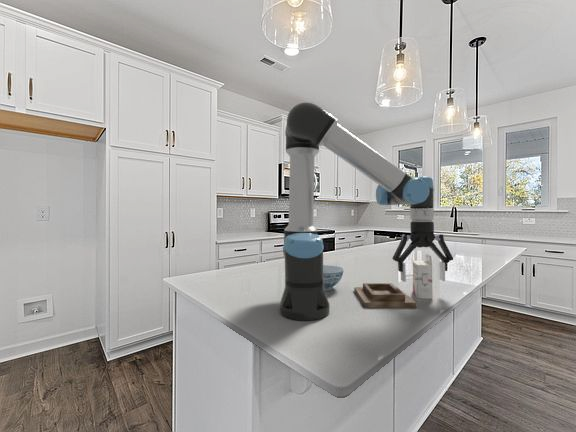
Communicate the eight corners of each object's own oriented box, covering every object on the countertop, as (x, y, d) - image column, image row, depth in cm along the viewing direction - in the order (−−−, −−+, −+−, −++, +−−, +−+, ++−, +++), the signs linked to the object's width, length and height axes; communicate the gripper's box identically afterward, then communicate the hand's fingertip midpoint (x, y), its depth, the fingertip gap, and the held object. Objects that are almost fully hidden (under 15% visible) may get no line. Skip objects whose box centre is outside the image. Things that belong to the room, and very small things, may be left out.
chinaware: (346, 293, 106) (346, 272, 106) (306, 293, 106) (305, 273, 106) (340, 283, 121) (340, 264, 121) (304, 283, 121) (304, 265, 121)
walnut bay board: (364, 307, 91) (364, 296, 91) (354, 291, 109) (354, 281, 109) (416, 307, 90) (416, 296, 90) (397, 291, 108) (397, 281, 108)
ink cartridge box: (411, 291, 108) (411, 252, 107) (426, 292, 107) (426, 252, 106) (417, 298, 99) (417, 256, 99) (433, 299, 98) (433, 256, 98)
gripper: (389, 222, 99) (390, 283, 100) (464, 220, 98) (464, 282, 99) (383, 221, 107) (384, 278, 107) (452, 219, 106) (453, 277, 106)
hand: (422, 280), depth 103 cm, fingers open, 13 cm apart
